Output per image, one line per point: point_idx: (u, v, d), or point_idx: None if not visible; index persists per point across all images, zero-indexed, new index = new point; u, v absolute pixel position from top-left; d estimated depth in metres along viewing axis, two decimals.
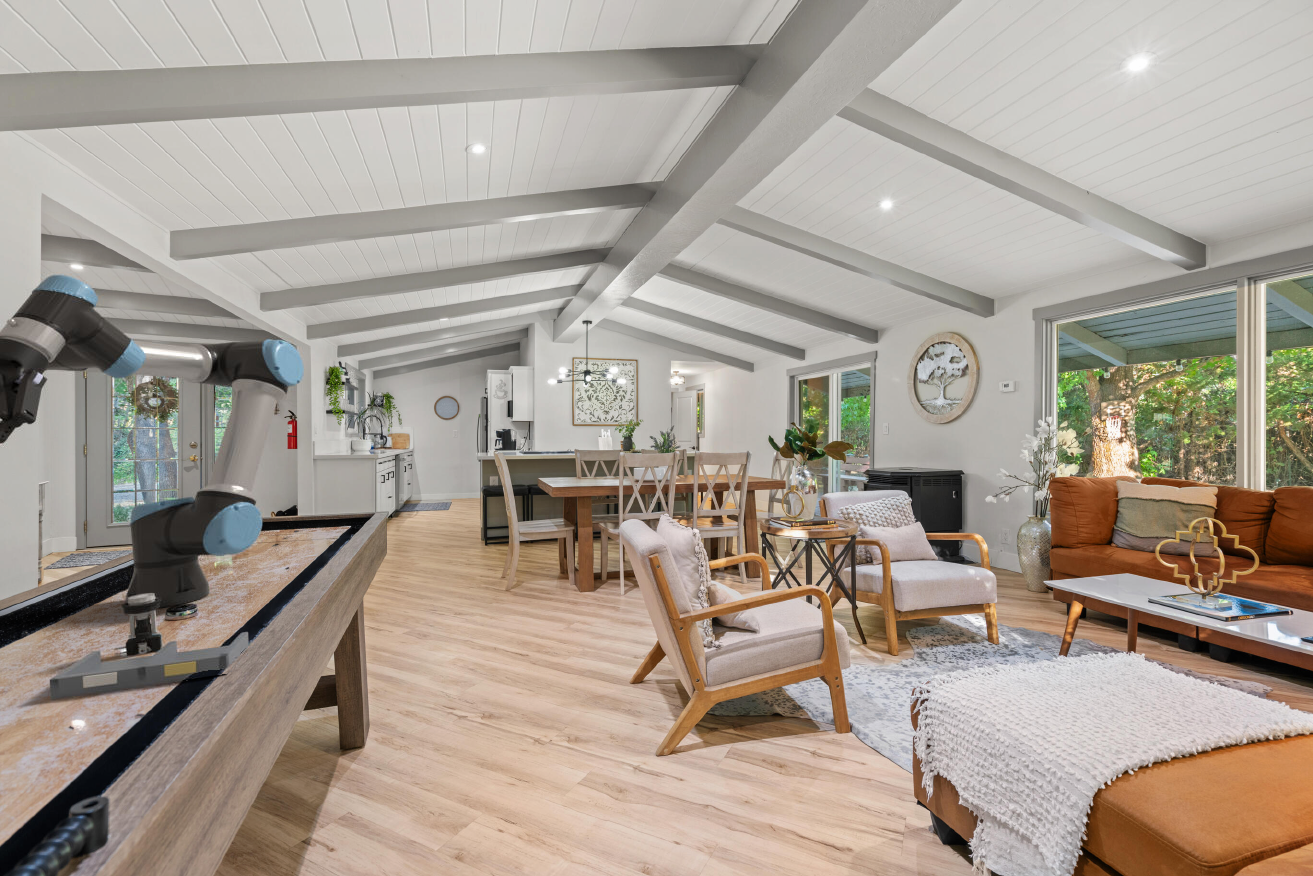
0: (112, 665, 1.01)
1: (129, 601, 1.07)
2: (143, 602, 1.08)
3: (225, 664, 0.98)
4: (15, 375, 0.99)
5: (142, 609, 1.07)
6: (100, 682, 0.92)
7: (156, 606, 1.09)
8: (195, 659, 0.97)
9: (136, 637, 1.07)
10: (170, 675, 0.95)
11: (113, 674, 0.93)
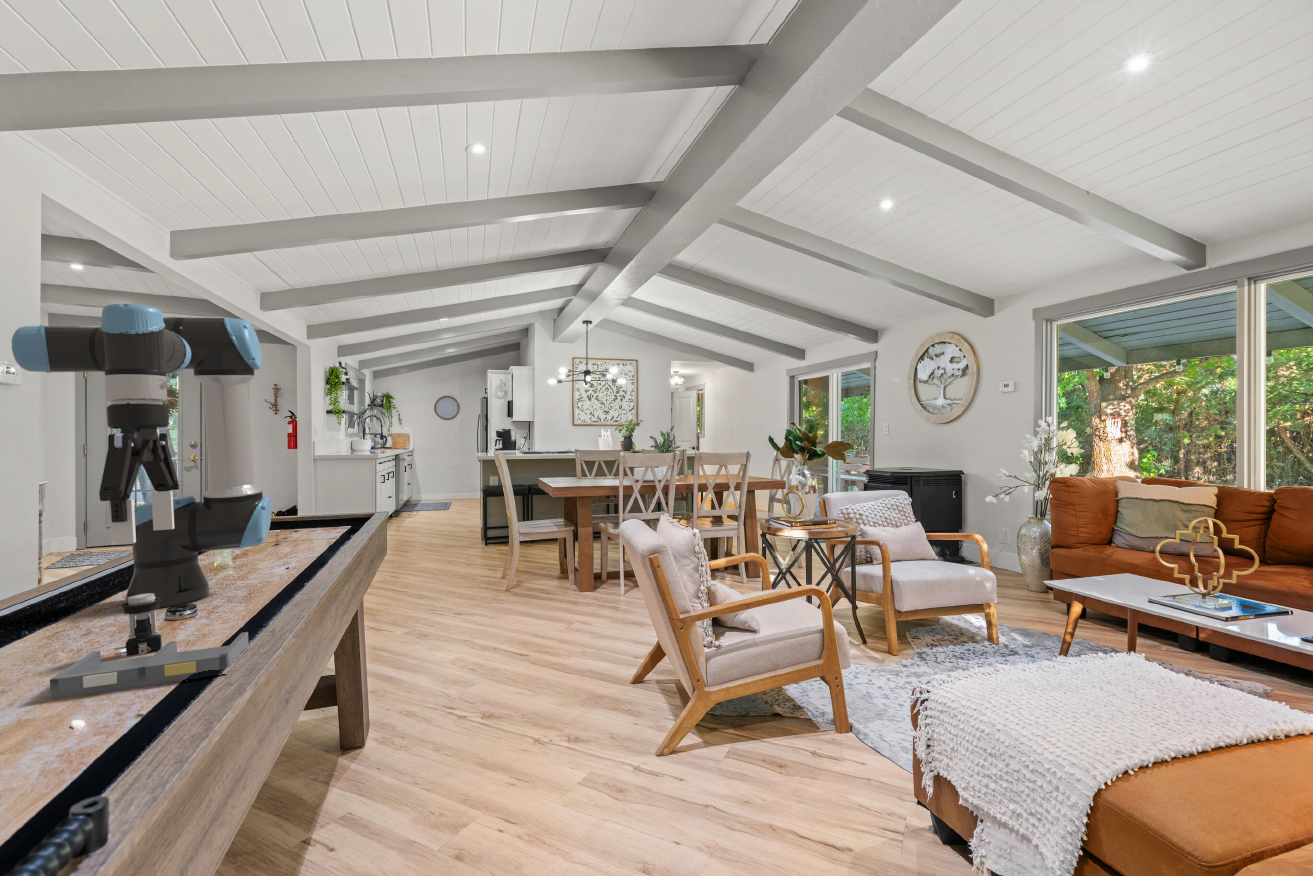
0: (112, 665, 1.01)
1: (129, 601, 1.07)
2: (143, 602, 1.08)
3: (225, 664, 0.98)
4: None
5: (142, 609, 1.07)
6: (100, 682, 0.92)
7: (156, 606, 1.09)
8: (195, 659, 0.97)
9: (136, 637, 1.07)
10: (170, 675, 0.95)
11: (113, 674, 0.93)
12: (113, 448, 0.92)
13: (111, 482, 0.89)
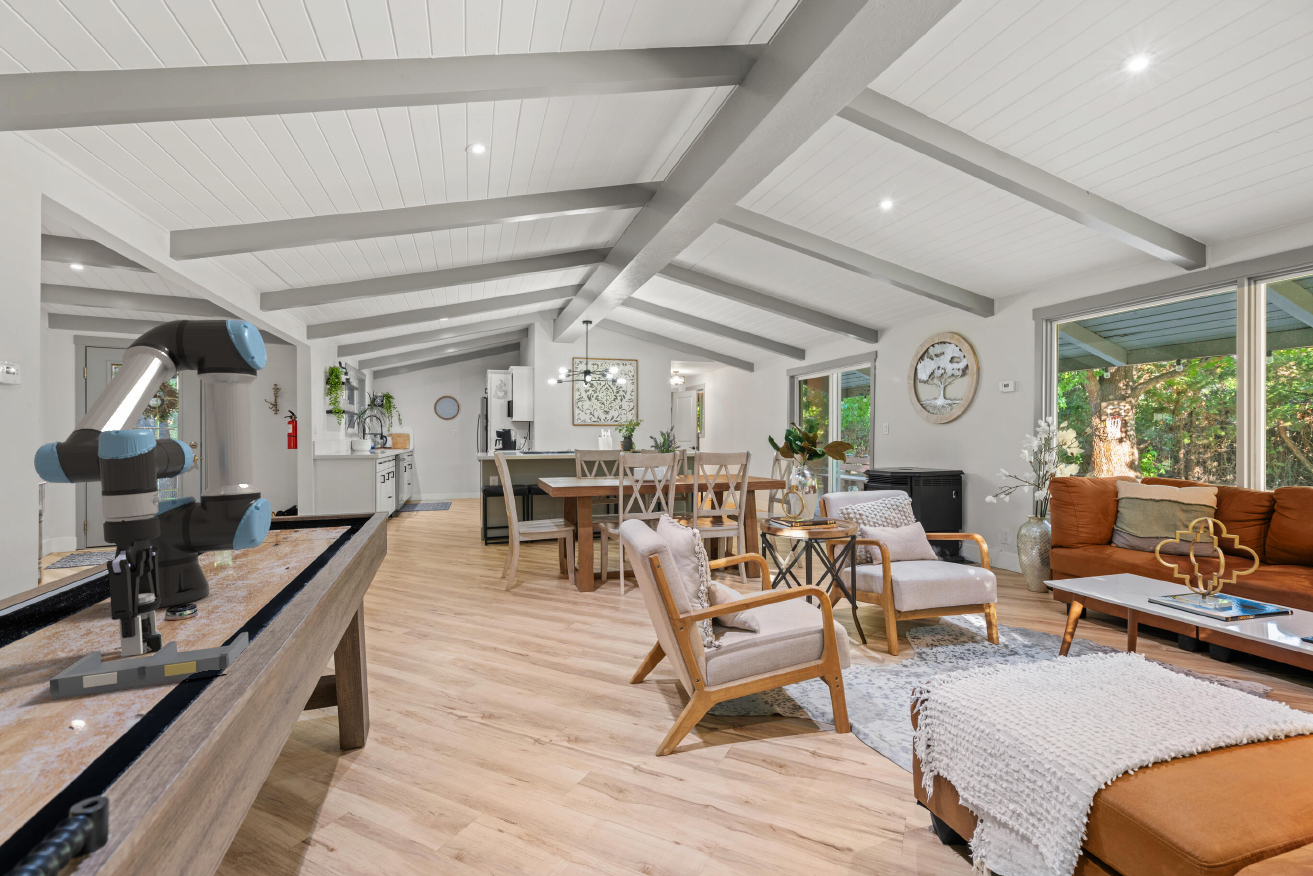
0: (112, 665, 1.01)
1: None
2: (143, 602, 1.07)
3: (225, 664, 0.98)
4: None
5: (142, 609, 1.07)
6: (100, 682, 0.92)
7: (156, 606, 1.09)
8: (195, 659, 0.97)
9: None
10: (170, 675, 0.95)
11: (113, 674, 0.93)
12: (113, 574, 1.02)
13: (120, 606, 1.03)
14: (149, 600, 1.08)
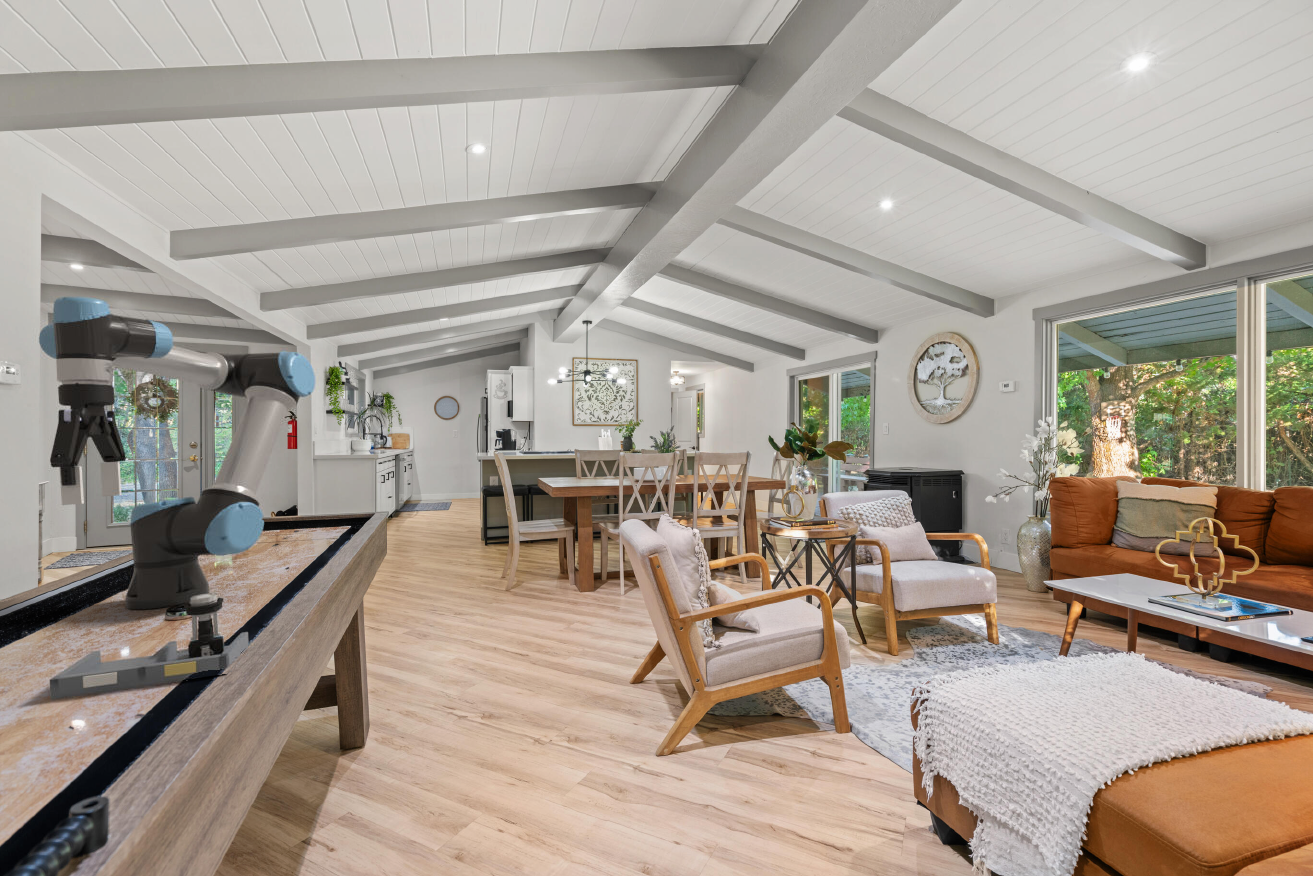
0: (112, 665, 1.01)
1: (191, 601, 1.02)
2: (206, 602, 1.02)
3: (225, 664, 0.98)
4: (105, 416, 1.17)
5: (205, 610, 1.02)
6: (100, 682, 0.92)
7: (219, 607, 1.04)
8: (195, 659, 0.97)
9: (199, 639, 1.02)
10: (170, 675, 0.95)
11: (113, 674, 0.93)
12: (63, 422, 1.06)
13: (61, 450, 1.04)
14: (212, 600, 1.03)
